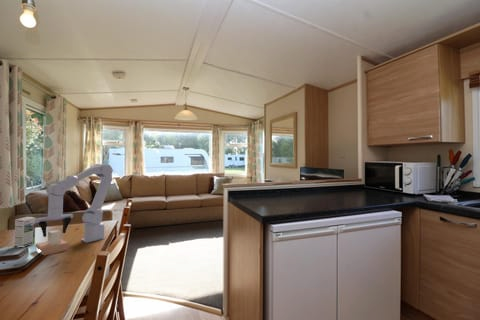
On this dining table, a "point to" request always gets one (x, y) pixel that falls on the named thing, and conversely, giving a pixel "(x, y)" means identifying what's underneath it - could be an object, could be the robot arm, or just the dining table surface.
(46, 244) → the base block
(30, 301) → the dining table surface
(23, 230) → the syrup box
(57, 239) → the white upright block
